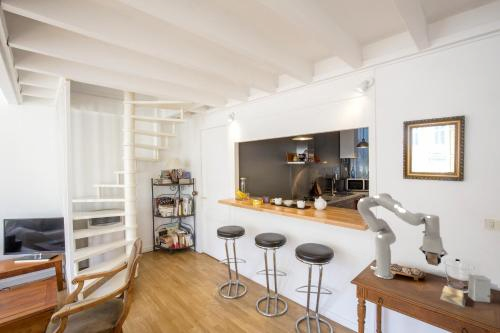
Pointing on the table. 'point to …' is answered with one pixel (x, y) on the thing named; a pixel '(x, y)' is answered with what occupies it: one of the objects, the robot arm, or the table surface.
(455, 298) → the oak block
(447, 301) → the blueprint board
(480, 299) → the skincare box
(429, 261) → the walnut block
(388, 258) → the robot arm
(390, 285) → the table surface
